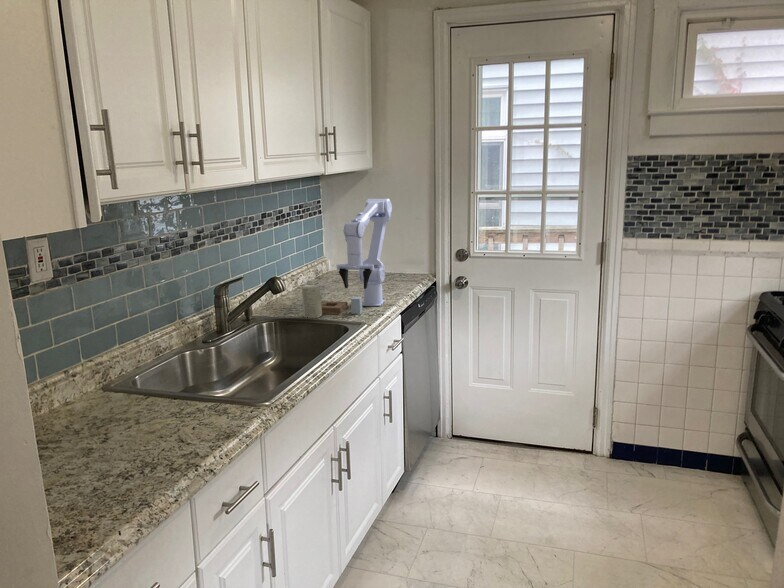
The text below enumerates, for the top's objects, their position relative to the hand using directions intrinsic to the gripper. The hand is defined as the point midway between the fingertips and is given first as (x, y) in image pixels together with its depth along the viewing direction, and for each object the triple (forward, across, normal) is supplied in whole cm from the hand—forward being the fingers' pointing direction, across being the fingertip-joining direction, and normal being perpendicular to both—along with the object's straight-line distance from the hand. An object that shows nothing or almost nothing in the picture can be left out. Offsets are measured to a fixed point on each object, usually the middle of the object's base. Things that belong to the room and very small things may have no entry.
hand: (356, 288), depth 250 cm
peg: (+10, 0, 0) cm, 10 cm away
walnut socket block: (+10, -12, +2) cm, 15 cm away
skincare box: (+10, -16, -8) cm, 20 cm away
